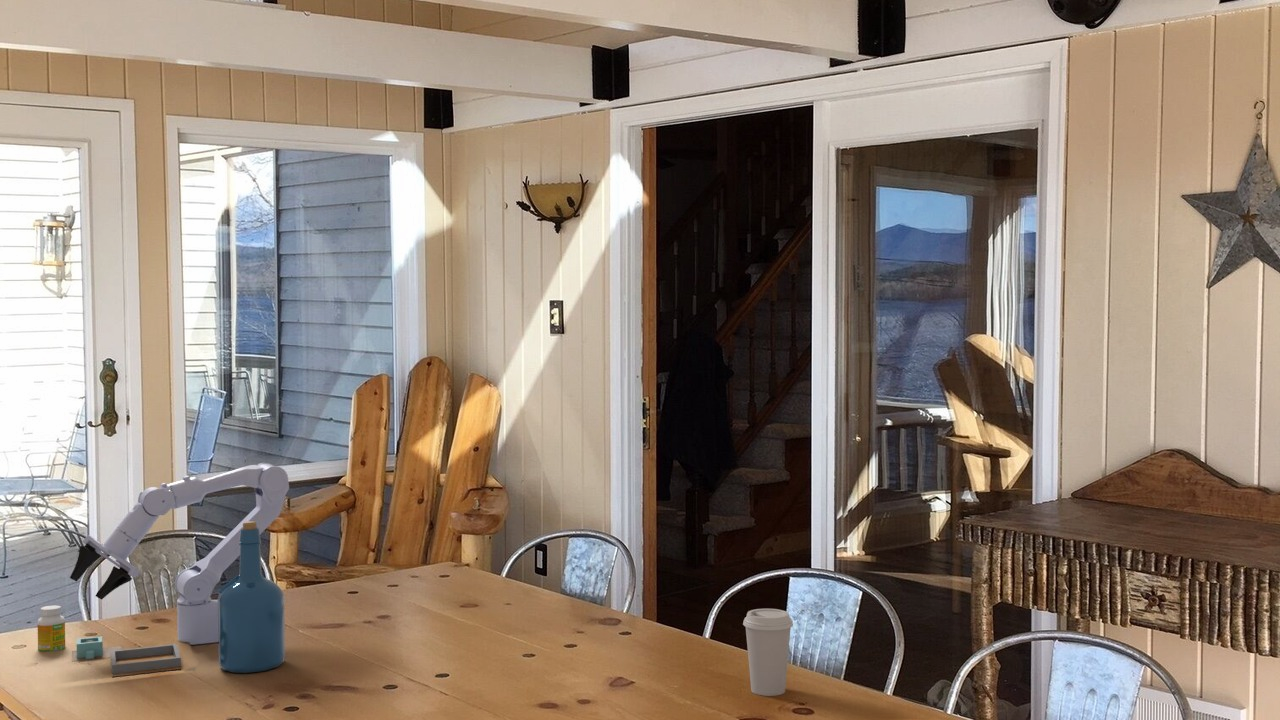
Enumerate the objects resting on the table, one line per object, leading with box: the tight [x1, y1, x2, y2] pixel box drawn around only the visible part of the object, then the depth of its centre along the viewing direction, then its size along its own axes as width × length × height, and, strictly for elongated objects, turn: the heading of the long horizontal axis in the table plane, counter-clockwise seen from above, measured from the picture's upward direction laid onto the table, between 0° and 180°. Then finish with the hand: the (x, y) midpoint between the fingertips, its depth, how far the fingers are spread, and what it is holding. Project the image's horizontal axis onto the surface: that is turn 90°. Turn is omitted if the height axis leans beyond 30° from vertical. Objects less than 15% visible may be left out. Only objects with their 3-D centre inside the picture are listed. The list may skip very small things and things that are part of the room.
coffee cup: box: [742, 608, 794, 697], centre depth 238 cm, size 10×10×15 cm
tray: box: [110, 643, 182, 678], centre depth 258 cm, size 13×12×2 cm
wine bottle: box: [217, 521, 286, 674], centre depth 257 cm, size 14×13×30 cm
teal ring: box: [76, 635, 104, 660], centre depth 263 cm, size 5×7×3 cm
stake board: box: [71, 640, 124, 663], centre depth 265 cm, size 10×9×4 cm
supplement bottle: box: [36, 605, 66, 653], centre depth 269 cm, size 5×5×10 cm
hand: (85, 588), depth 265 cm, fingers open, 7 cm apart
